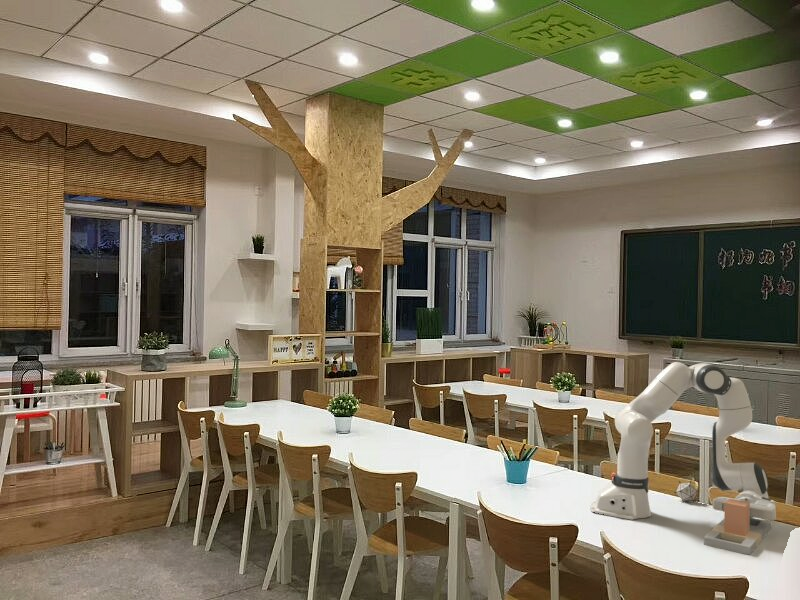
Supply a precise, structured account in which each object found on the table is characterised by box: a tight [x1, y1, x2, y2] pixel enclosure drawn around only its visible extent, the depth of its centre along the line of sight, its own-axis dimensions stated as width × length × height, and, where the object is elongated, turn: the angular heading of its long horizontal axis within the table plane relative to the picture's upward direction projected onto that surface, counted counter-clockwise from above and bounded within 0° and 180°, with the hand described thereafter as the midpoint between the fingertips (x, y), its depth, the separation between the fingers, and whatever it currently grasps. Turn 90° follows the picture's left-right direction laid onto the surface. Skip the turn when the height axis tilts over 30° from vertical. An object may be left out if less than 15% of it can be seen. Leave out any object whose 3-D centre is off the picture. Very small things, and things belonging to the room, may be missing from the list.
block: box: [723, 498, 750, 536], centre depth 233 cm, size 6×6×10 cm
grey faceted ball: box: [673, 480, 700, 503], centre depth 276 cm, size 9×8×10 cm
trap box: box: [703, 517, 772, 556], centre depth 235 cm, size 34×14×2 cm, turn 141°
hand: (739, 513), depth 235 cm, fingers closed, pressing on block
